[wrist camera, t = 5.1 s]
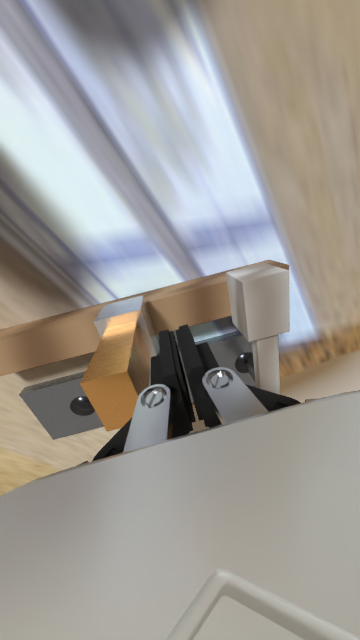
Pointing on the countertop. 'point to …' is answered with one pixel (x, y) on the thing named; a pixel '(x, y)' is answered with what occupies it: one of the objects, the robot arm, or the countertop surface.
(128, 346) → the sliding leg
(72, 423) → the hole strip
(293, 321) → the countertop surface
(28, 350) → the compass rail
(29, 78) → the countertop surface
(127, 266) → the countertop surface
